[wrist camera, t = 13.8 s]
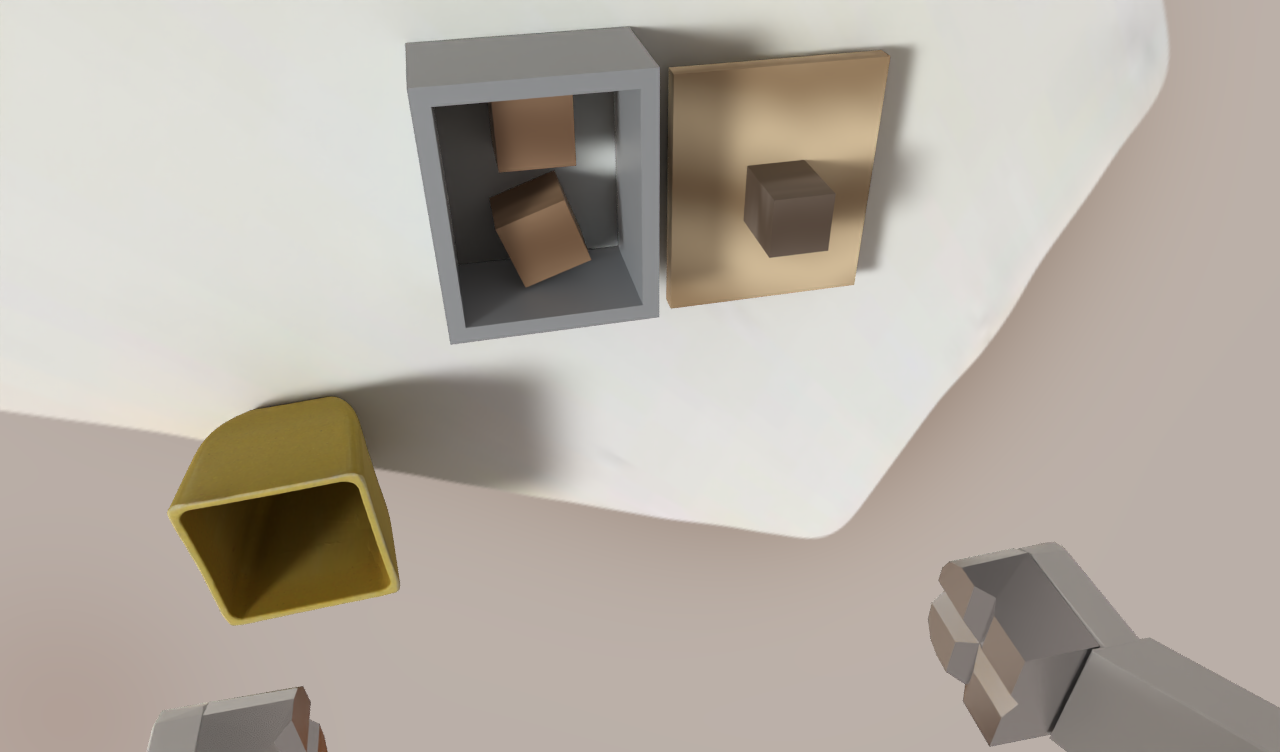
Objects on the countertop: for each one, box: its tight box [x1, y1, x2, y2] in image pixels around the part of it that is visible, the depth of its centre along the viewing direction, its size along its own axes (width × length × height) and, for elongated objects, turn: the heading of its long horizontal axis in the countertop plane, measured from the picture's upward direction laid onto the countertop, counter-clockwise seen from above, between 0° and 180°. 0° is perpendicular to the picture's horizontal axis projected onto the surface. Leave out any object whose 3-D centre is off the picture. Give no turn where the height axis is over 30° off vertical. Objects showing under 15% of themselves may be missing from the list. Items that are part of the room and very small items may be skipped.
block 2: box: [489, 170, 591, 287], centre depth 43 cm, size 4×4×4 cm
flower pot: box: [167, 397, 400, 626], centre depth 46 cm, size 9×9×9 cm
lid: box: [666, 50, 890, 308], centre depth 44 cm, size 13×11×6 cm
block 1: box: [488, 95, 576, 173], centre depth 40 cm, size 4×4×4 cm
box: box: [405, 27, 660, 344], centre depth 41 cm, size 12×10×6 cm
